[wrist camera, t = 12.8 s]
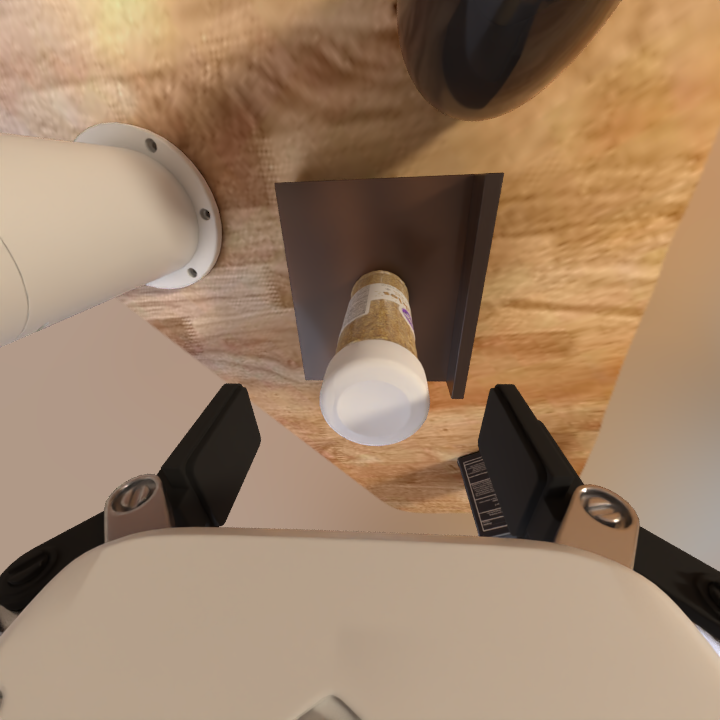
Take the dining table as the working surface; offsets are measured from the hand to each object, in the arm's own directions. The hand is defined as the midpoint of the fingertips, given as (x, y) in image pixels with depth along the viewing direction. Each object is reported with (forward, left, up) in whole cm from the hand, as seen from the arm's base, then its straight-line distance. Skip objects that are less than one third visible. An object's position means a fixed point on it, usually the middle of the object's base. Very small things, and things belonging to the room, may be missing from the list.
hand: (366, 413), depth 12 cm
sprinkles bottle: (0, 0, -14) cm, 14 cm away
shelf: (0, 0, -19) cm, 19 cm away
